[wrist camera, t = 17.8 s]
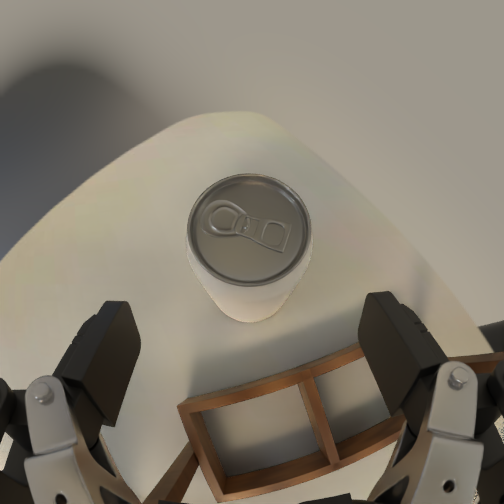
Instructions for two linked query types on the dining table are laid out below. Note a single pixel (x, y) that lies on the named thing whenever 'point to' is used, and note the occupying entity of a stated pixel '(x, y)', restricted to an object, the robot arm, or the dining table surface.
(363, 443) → the frame
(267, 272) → the can
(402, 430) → the robot arm
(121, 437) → the dining table surface
